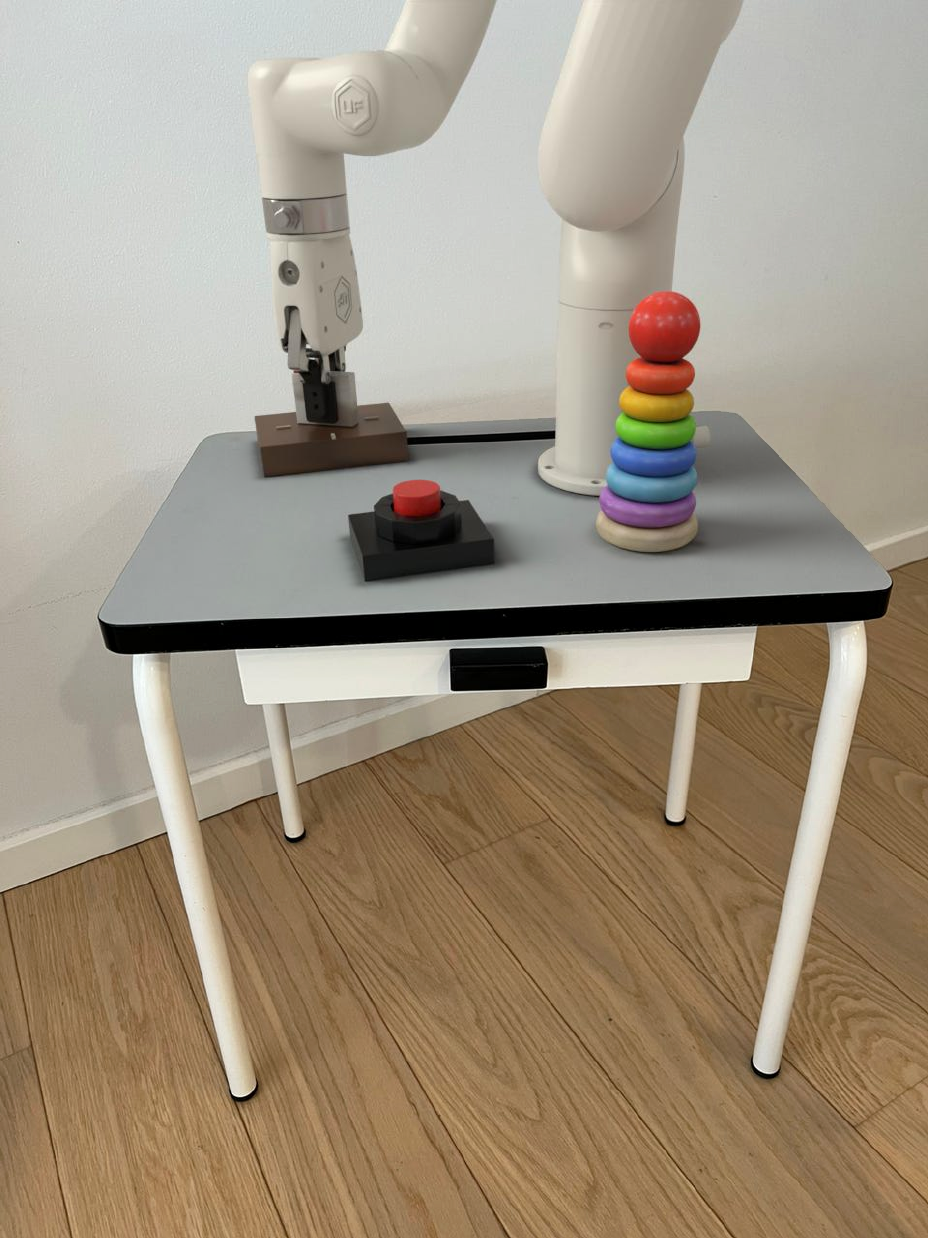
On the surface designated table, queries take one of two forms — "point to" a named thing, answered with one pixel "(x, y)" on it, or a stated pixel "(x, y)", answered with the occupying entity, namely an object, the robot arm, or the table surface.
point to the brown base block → (330, 442)
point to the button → (416, 497)
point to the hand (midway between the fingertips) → (327, 416)
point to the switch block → (419, 539)
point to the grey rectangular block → (343, 394)
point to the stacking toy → (654, 433)
